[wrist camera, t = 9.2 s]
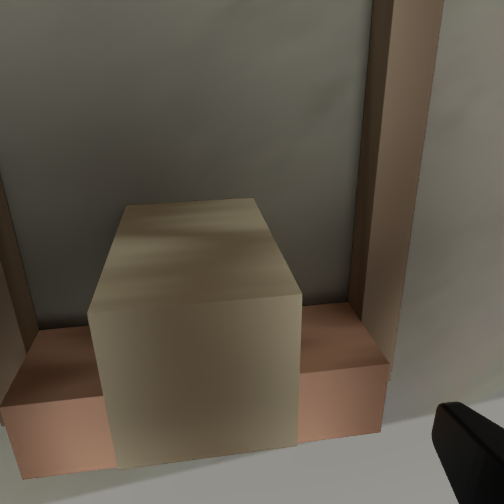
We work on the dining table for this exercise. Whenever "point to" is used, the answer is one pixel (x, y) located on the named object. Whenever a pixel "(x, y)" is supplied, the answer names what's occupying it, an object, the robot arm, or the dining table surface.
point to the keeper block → (196, 334)
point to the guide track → (313, 316)
